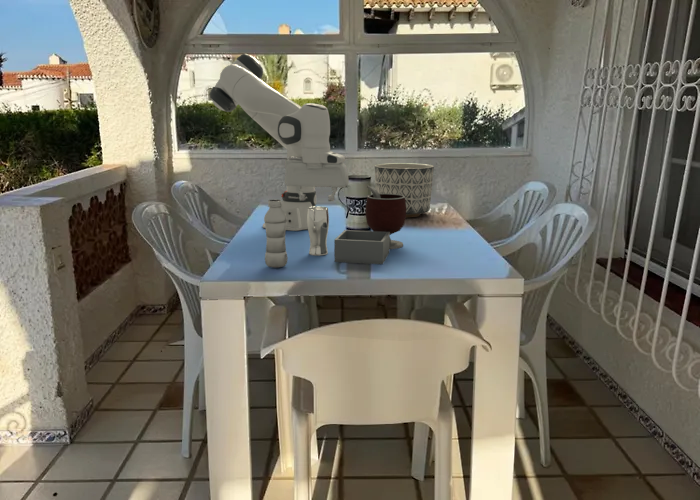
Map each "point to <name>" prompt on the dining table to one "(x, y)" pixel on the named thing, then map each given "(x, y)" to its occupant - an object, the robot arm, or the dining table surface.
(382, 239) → the bin
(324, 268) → the dining table surface
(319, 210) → the beer glass
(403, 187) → the planter
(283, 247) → the plastic bottle
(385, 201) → the mate gourd
